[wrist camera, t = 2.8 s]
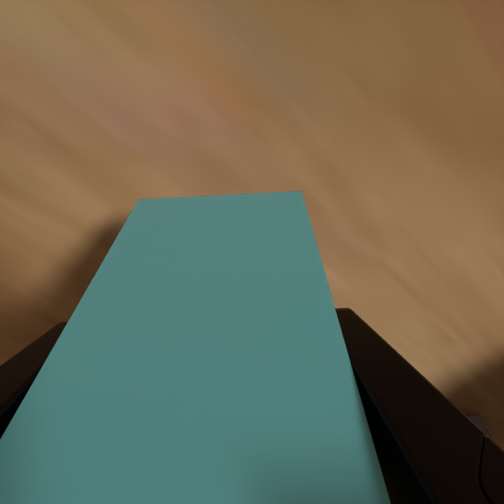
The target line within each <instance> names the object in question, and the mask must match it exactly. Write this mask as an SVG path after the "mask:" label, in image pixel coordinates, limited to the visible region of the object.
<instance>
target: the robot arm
mask: <svg viewBox="0 0 504 504" xmlns="http://www.w3.org/2000/svg"><path fill="white" fill-rule="evenodd" d="M335 310H336V314H337V317H338V321H339V324H340V328H341V331H342V335H343V338H344V342H345V345H346V349H347V352H348V356H349V359H350V363H351V366H352V370H353V373H354V377H355V380H356V384H357V387H358V391H359V394H360V398H361V401H362V405H363V408H364V412H365V415H366V419H367V422H368V426H369V430H370V433H371V437H372V440H373V444H374V447H375V451H376V454H377V458H378V461H379V465H380V468H381V472H382V475H383V479H384V482H385V486H386V489H387V493H388V496H389V500H390V503H391V504H504V450H503V449H502V448H500V447H499V446H498V445H497V444H496V443H495V442H494V441H493V440H492V439H491V438H490V437H488V436H486V437H484V432H483V431H482V430H481V429H480V428H479V427H478V426H476V425H475V424H474V423H473V422H472V421H471V420H470V419H469V418H468V417H467V416H466V415H465V414H464V413H462V412H461V411H460V410H459V409H458V408H457V407H456V406H455V405H454V404H453V403H452V402H451V401H450V400H448V399H447V398H446V397H445V396H444V395H443V394H442V393H441V392H440V391H439V390H438V389H437V388H436V387H434V386H433V385H432V384H431V383H430V382H429V381H428V380H427V379H426V378H425V377H424V376H423V375H421V374H420V373H419V372H418V371H417V370H416V369H415V368H414V367H413V366H412V365H411V364H410V363H409V362H407V361H406V360H405V359H404V358H403V357H402V356H401V355H400V354H399V353H398V352H397V351H396V350H395V349H393V348H392V347H391V346H390V345H389V344H388V343H387V342H386V341H385V340H384V339H383V338H382V337H381V336H379V335H378V334H377V333H376V332H375V331H374V330H373V329H372V328H371V327H370V326H369V325H368V324H367V323H365V322H364V321H363V320H362V319H361V318H360V317H359V316H358V315H357V314H356V313H355V312H354V311H353V310H351V309H349V308H335ZM67 323H68V321H63V322H60V323H59V324H57V325H56V326H54V327H53V328H52V329H50V330H49V331H48V332H46V333H45V334H43V335H42V336H41V337H39V338H38V339H37V340H35V341H34V342H32V343H31V344H30V345H28V346H27V347H26V348H24V349H23V350H21V351H20V352H19V353H17V354H16V355H15V356H13V357H12V358H11V359H9V360H8V361H6V362H5V363H4V364H2V365H1V366H0V439H1V438H2V436H3V434H4V432H5V431H6V429H7V427H8V425H9V424H10V422H11V420H12V418H13V417H14V415H15V413H16V412H17V410H18V408H19V406H20V405H21V403H22V401H23V399H24V398H25V396H26V394H27V392H28V391H29V389H30V387H31V385H32V384H33V382H34V380H35V379H36V377H37V375H38V373H39V372H40V370H41V368H42V366H43V365H44V363H45V361H46V359H47V358H48V356H49V354H50V352H51V351H52V349H53V347H54V345H55V344H56V342H57V340H58V339H59V337H60V335H61V333H62V332H63V330H64V328H65V326H66V325H67Z"/></svg>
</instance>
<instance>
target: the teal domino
mask: <svg viewBox="0 0 504 504" xmlns="http://www.w3.org/2000/svg"><path fill="white" fill-rule="evenodd" d="M0 504H391V503H390V500H389V496H388V493H387V489H386V486H385V482H384V479H383V475H382V472H381V468H380V465H379V461H378V458H377V454H376V451H375V447H374V444H373V440H372V437H371V433H370V430H369V426H368V422H367V419H366V415H365V412H364V408H363V405H362V401H361V398H360V394H359V391H358V387H357V384H356V380H355V377H354V373H353V370H352V366H351V363H350V359H349V356H348V352H347V349H346V345H345V342H344V338H343V335H342V331H341V328H340V324H339V321H338V317H337V314H336V310H335V307H334V303H333V300H332V296H331V293H330V289H329V286H328V282H327V278H326V275H325V271H324V268H323V264H322V261H321V257H320V254H319V250H318V247H317V243H316V240H315V236H314V233H313V229H312V226H311V222H310V219H309V215H308V212H307V208H306V205H305V201H304V198H303V194H302V191H292V192H273V193H254V194H235V195H216V196H197V197H178V198H159V199H140V200H138V201H137V203H136V205H135V206H134V208H133V210H132V212H131V213H130V215H129V217H128V219H127V220H126V222H125V224H124V226H123V227H122V229H121V231H120V232H119V234H118V236H117V238H116V239H115V241H114V243H113V245H112V246H111V248H110V250H109V252H108V253H107V255H106V257H105V259H104V260H103V262H102V264H101V266H100V267H99V269H98V271H97V272H96V274H95V276H94V278H93V279H92V281H91V283H90V285H89V286H88V288H87V290H86V292H85V293H84V295H83V297H82V299H81V300H80V302H79V304H78V305H77V307H76V309H75V311H74V312H73V314H72V316H71V318H70V319H69V321H68V323H67V325H66V326H65V328H64V330H63V332H62V333H61V335H60V337H59V339H58V340H57V342H56V344H55V345H54V347H53V349H52V351H51V352H50V354H49V356H48V358H47V359H46V361H45V363H44V365H43V366H42V368H41V370H40V372H39V373H38V375H37V377H36V379H35V380H34V382H33V384H32V385H31V387H30V389H29V391H28V392H27V394H26V396H25V398H24V399H23V401H22V403H21V405H20V406H19V408H18V410H17V412H16V413H15V415H14V417H13V418H12V420H11V422H10V424H9V425H8V427H7V429H6V431H5V432H4V434H3V436H2V438H1V439H0Z"/></svg>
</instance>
